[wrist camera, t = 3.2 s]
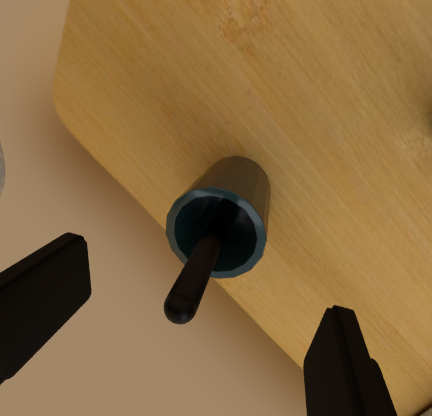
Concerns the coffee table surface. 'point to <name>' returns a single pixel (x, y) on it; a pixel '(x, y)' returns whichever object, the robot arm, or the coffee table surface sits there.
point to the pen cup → (241, 223)
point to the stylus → (199, 267)
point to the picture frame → (427, 412)
